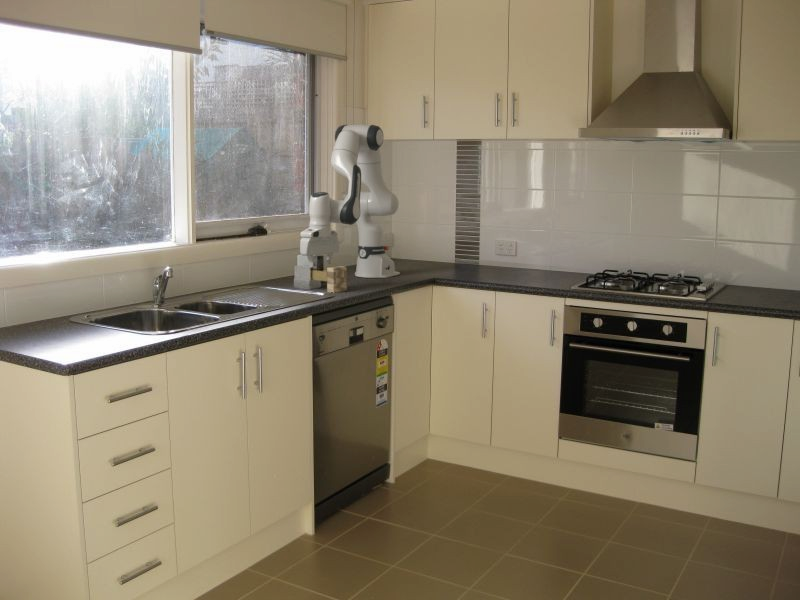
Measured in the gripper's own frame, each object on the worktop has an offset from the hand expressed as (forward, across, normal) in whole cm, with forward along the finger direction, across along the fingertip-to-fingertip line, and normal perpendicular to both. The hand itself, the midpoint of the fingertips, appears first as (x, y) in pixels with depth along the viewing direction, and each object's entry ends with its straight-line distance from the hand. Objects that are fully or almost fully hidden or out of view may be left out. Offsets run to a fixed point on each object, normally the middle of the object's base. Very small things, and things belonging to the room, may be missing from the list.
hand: (320, 265), depth 362 cm
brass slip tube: (+6, 0, -2) cm, 6 cm away
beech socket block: (+10, 0, +9) cm, 14 cm away
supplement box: (+10, -9, -16) cm, 21 cm away
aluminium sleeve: (+10, 0, -8) cm, 13 cm away
